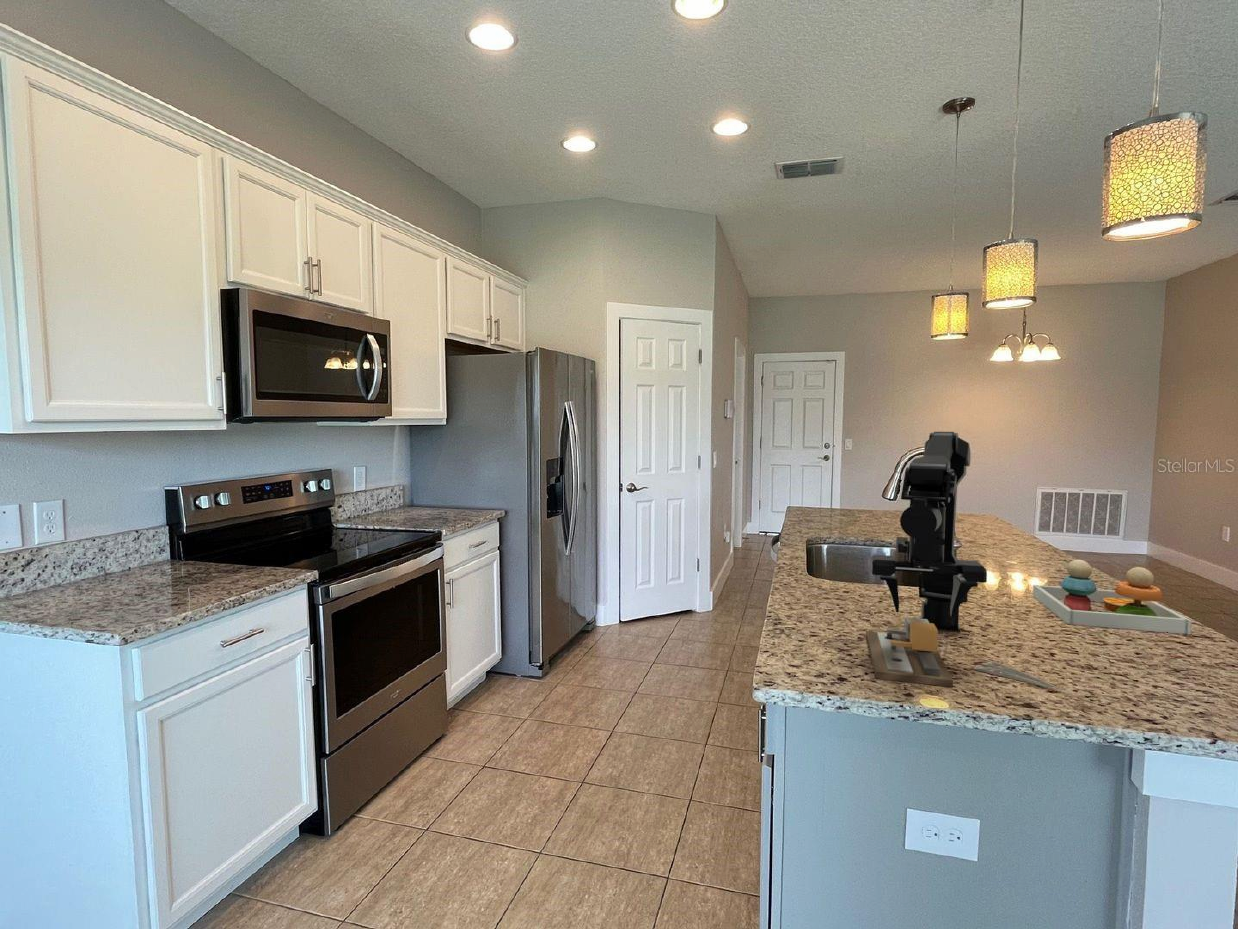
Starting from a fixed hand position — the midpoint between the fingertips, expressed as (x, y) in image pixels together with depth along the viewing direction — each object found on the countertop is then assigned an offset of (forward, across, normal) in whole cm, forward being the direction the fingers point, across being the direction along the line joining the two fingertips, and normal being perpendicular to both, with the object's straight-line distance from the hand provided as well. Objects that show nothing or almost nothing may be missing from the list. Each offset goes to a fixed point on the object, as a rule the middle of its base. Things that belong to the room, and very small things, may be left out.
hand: (924, 614), depth 115 cm
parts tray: (+9, -45, -45) cm, 64 cm away
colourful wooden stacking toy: (+9, -46, -46) cm, 66 cm away
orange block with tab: (+7, +2, 0) cm, 7 cm away
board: (+9, +3, 0) cm, 9 cm away
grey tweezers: (+10, -16, +5) cm, 20 cm away
